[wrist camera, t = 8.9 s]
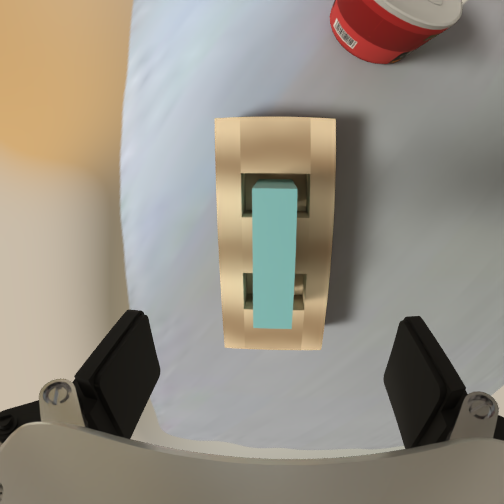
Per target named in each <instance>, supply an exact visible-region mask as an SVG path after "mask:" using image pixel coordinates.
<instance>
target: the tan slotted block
mask: <svg viewBox="0 0 504 504" xmlns="http://www.w3.org/2000/svg"><path fill="white" fill-rule="evenodd" d="M215 161H216V195H217V222H218V244H219V264H220V282H221V299H222V314H223V329H224V343H225V348H241V349H267V350H321V347H322V339H323V332H324V324H325V315H326V307H327V297H328V287H329V277H330V265H331V253H332V238H333V222H334V201H335V169H336V119H329V118H310V117H233V118H215ZM259 179H292V180H293V182H294V184H295V185H296V187H297V229H296V257H295V279H294V298H293V315H292V329H268V328H253V242H252V188H253V186H254V185H255V184H256V182H257V181H258V180H259Z"/></svg>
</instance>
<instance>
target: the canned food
mask: <svg viewBox="0 0 504 504" xmlns="http://www.w3.org/2000/svg"><path fill="white" fill-rule="evenodd" d="M462 10H463V9H462V0H335V1H334V4H333V7H332V9H331V13H330V24H331V27H332V30H333V33H334V35H335V37H336V39H337V40H338V41H339V43H340V44H341V45H342V46H343V47H344V48H345V49H346V50H347V51H348V52H350V53H351V54H352V55H354V56H356V57H358V58H359V59H362V60H364V61H367V62H371V63H377V64H388V63H394V62H397V61H399V60H401V59H402V58H404V57H405V56H406V55H408V54H409V53H411V52H412V51H414V50H415V49H417V48H419V47H420V46H422V45H423V44H425V43H426V42H428V41H429V40H431V39H432V38H434V37H436V36H437V35H439V34H440V33H442V32H443V31H445V30H446V29H448V28H449V27H451V26H452V25H454V24H455V22H457V21H458V19H459V18H460V17H461V14H462Z"/></svg>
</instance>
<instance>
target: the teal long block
mask: <svg viewBox="0 0 504 504" xmlns="http://www.w3.org/2000/svg"><path fill="white" fill-rule="evenodd" d="M296 229H297V187H296V185H295V184H294V182H293V180H292V179H259V180H258V181H257V182H256V184H255V185H254V186H253V188H252V242H253V328H268V329H292V315H293V298H294V279H295V257H296Z"/></svg>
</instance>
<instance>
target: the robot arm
mask: <svg viewBox="0 0 504 504" xmlns="http://www.w3.org/2000/svg"><path fill="white" fill-rule="evenodd" d="M159 376H160V366H159V362H158V358H157V354H156V350H155V346H154V342H153V337H152V333H151V328H150V324H149V319H148V316H147V315H144V313H143V311H138V310H127V311H126V312H125V313H124V314H123V316H122V317H121V318H120V319H119V320H118V322H117V323H116V324H115V325H114V326H113V328H112V329H111V330H110V331H109V333H108V334H107V335H106V336H105V338H104V339H103V340H102V341H101V343H100V344H99V345H98V346H97V348H96V349H95V350H94V351H93V353H92V354H91V355H90V357H89V358H88V359H87V360H86V362H85V363H84V364H83V366H82V367H81V368H80V370H79V371H78V372H77V373H76V375H75V380H74V381H73V382H71V381H69V380H66V379H56V380H53V381H50V382H48V383H47V384H45V385H44V387H43V388H42V389H41V391H40V393H39V400H38V401H34V402H32V403H28V404H24V405H21V406H18V407H14V408H10V409H7V410H4V411H2V412H0V504H504V417H502V416H499V415H498V412H499V411H498V410H499V408H498V405H497V402H496V401H495V400H494V398H493V397H491V396H490V395H489V394H487V393H484V392H480V391H478V392H472V393H469V394H467V392H466V390H465V389H466V387H465V385H464V384H463V382H462V380H461V379H460V377H459V375H458V374H457V372H456V370H455V369H454V367H453V365H452V364H451V362H450V361H449V359H448V357H447V356H446V354H445V353H444V351H443V349H442V348H441V346H440V345H439V343H438V342H437V340H436V339H435V337H434V336H433V334H432V333H431V331H430V330H429V328H428V327H427V325H426V324H425V322H424V321H423V319H422V318H421V317H420V316H411V317H405V318H404V320H403V321H401V322H400V323H399V327H398V330H397V334H396V338H395V341H394V345H393V348H392V351H391V355H390V358H389V361H388V364H387V367H386V370H385V373H384V384H385V387H386V390H387V393H388V396H389V399H390V402H391V405H392V408H393V411H394V414H395V417H396V420H397V423H398V427H399V430H400V433H401V436H402V440H403V443H404V446H405V449H403V450H397V451H390V452H384V453H377V454H370V455H361V456H351V457H339V458H323V459H260V458H243V457H232V456H222V455H213V454H205V453H198V452H190V451H184V450H178V449H173V448H168V447H162V446H158V445H153V444H149V443H144V442H140V441H135V440H131V439H130V438H131V436H132V434H133V432H134V429H135V427H136V425H137V423H138V421H139V419H140V416H141V414H142V412H143V410H144V408H145V406H146V404H147V401H148V399H149V397H150V395H151V393H152V391H153V389H154V387H155V385H156V383H157V381H158V378H159Z"/></svg>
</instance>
